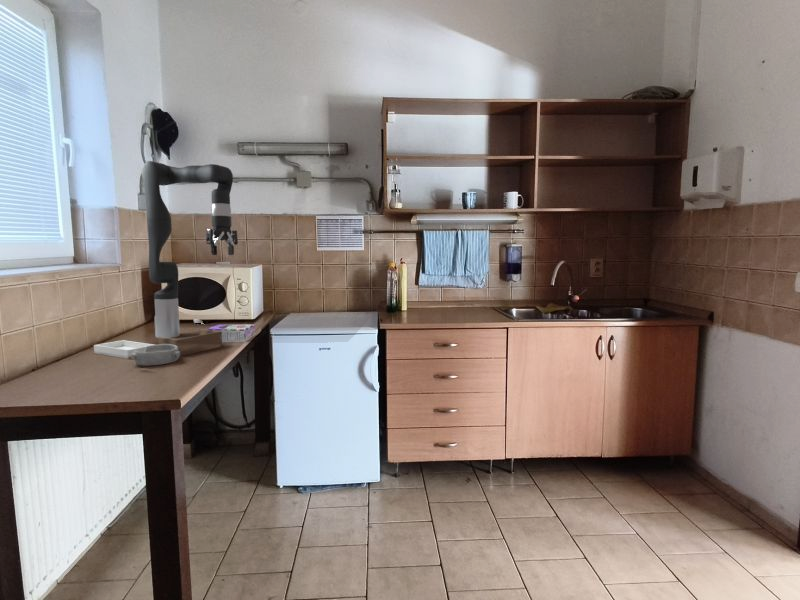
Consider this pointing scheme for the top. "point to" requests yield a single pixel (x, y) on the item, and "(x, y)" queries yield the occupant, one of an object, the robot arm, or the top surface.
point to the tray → (120, 348)
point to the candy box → (235, 332)
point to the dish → (156, 355)
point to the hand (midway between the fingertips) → (222, 255)
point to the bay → (195, 342)
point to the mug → (198, 321)
